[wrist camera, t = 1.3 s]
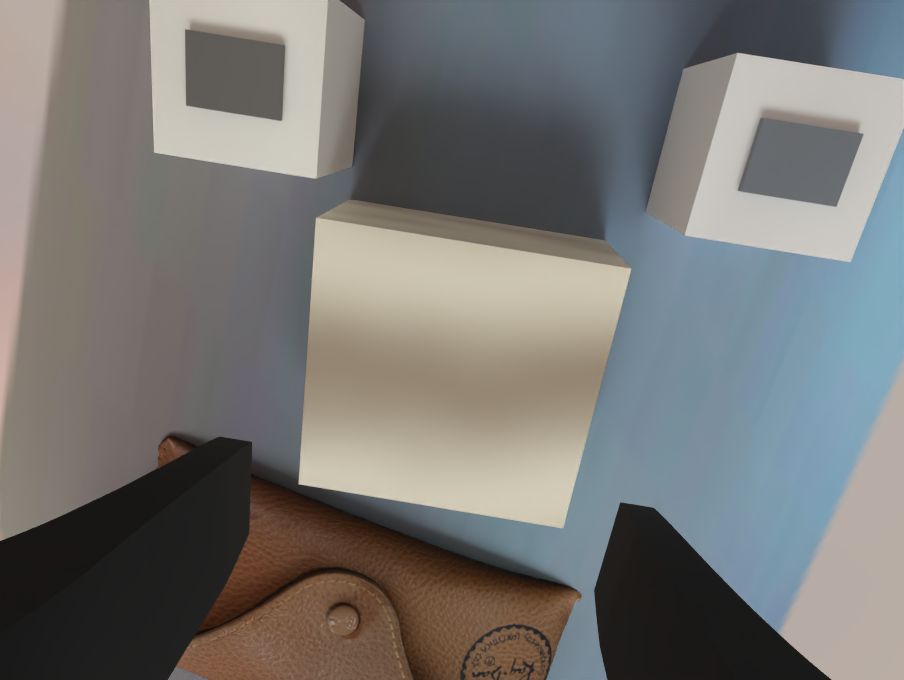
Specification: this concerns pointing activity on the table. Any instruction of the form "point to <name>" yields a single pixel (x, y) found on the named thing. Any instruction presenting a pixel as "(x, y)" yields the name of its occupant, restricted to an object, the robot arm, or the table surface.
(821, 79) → the cream block marked 1
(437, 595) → the sunglasses case
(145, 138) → the table surface
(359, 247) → the plain birch block
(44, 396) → the table surface
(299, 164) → the cream block marked 2
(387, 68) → the table surface
